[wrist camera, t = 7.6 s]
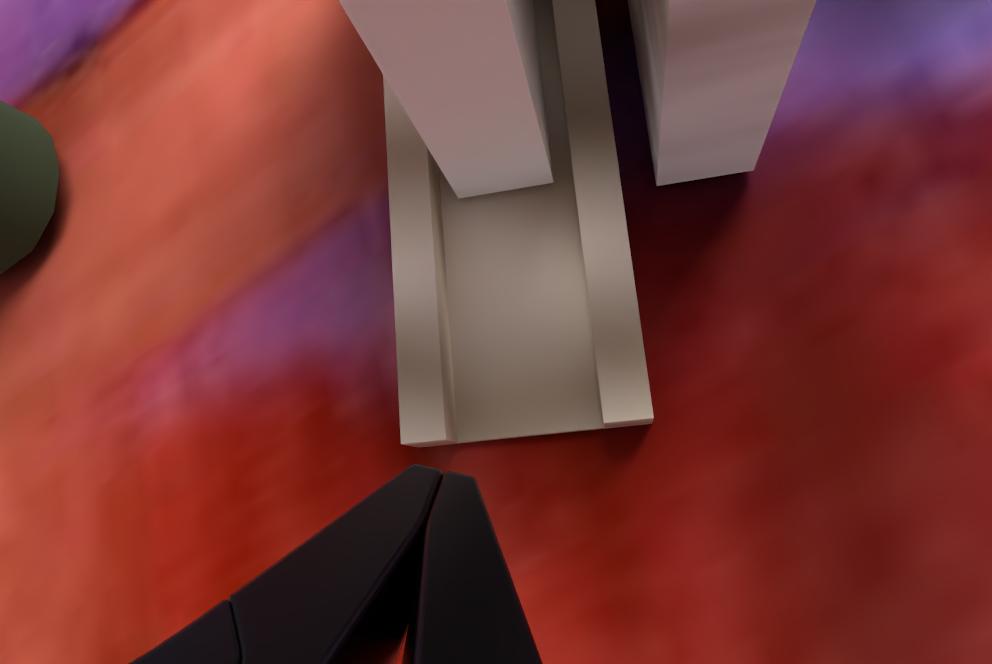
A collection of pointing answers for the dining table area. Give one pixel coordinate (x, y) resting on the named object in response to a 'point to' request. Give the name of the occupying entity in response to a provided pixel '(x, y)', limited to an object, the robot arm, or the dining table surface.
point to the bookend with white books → (568, 223)
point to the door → (465, 85)
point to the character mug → (24, 183)
